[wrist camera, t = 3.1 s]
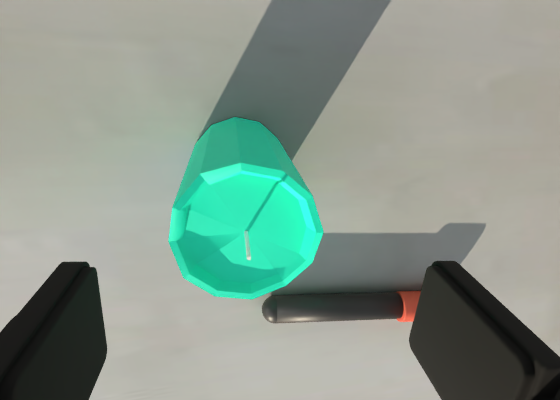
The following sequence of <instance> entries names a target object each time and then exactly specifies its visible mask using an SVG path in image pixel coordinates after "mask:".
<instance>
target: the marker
mask: <svg viewBox="0 0 560 400" xmlns="http://www.w3.org/2000/svg"><path fill="white" fill-rule="evenodd" d="M420 293H421V291H398V292H390V293H351V294H313V295H275V296H271V297H269V298H267V299H266V300H265V302H264V303H263V306H262V313H263V315H264V317H265V319H266V320H267V321H269V322H271V323H295V322H321V321H348V320H374V319H397V320H398V321H400V322H409V321H414V317H415V313H416V309H417V305H418V301H419V297H420Z"/></svg>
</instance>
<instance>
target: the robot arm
mask: <svg viewBox="0 0 560 400" xmlns="http://www.w3.org/2000/svg"><path fill="white" fill-rule="evenodd" d="M409 343H410V347H411V349H412V351H413V353H414V355H415V356H416V358H417V360H418V361H419V363H420V365H421V366H422V368H423V370H424V371H425V373H426V375H427V376H428V378H429V380H430V381H431V383H432V384H433V386H434V388H435V389H436V391H437V393H438V394H439V396H440V398H441V399H442V400H560V357H559V356H558V355H557V354H556V353H555V352H554V351H553V350H551V349H550V348H549V347H548V346H547V345H546V344H545V343H544V342H543V341H542V340H541V339H540V338H538V337H537V336H536V335H535V334H534V333H533V332H532V331H531V330H530V329H529V328H528V327H527V326H525V325H524V324H523V323H522V322H521V321H520V320H519V319H518V318H517V317H516V316H515V315H514V314H512V313H511V312H510V311H509V310H508V309H507V308H506V307H505V306H504V305H503V304H502V303H501V302H499V301H498V300H497V299H496V298H495V297H494V296H493V295H492V294H491V293H490V292H489V291H488V290H486V289H485V288H484V287H483V286H482V285H481V284H480V283H479V282H478V281H477V280H476V279H475V278H474V277H472V276H471V275H470V274H469V273H468V272H467V271H466V270H465V269H464V268H463V267H462V266H461V265H459V264H458V263H457V262H455V261H435V262H433V264H432V265H431V266H429V267H428V268H427V270H426V273H425V277H424V281H423V285H422V289H421V293H420V297H419V301H418V305H417V309H416V313H415V317H414V321H413V325H412V329H411V333H410V337H409ZM106 354H107V343H106V336H105V329H104V321H103V314H102V307H101V299H100V292H99V285H98V277H97V271H96V269H95V268H94V267H90V266H89V264H88V263H87V262H62V263H61V264H60V265H59V266H58V267H57V268H56V269H55V271H54V272H53V273H52V274H51V275H50V276H49V278H48V279H47V280H46V281H45V282H44V284H43V285H42V286H41V287H40V288H39V290H38V291H37V292H36V293H35V294H34V296H33V297H32V298H31V299H30V300H29V301H28V303H27V304H26V305H25V306H24V307H23V309H22V310H21V311H20V312H19V313H18V315H16V316H15V317H14V318H13V319H12V320H10V322H9V323H8V324H7V325H6V326H5V327H4V329H3V330H2V331H1V332H0V400H89V397H90V395H91V393H92V390H93V388H94V386H95V383H96V381H97V379H98V376H99V374H100V372H101V369H102V367H103V364H104V362H105V359H106Z"/></svg>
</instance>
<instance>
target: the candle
mask: <svg viewBox="0 0 560 400" xmlns="http://www.w3.org/2000/svg"><path fill="white" fill-rule="evenodd" d="M323 233H324V232H323V228H322V225H321V222H320V218H319V215H318V212H317V209H316V205H315V202H314V199H313V196H312V194H311V192H310V191H309V189H308V188H307V186H306V184H305V183H304V181H303V179H302V178H301V176H300V174H299V173H298V171H297V169H296V168H295V166H294V165H293V163H292V161H291V160H290V158H289V156H288V155H287V153H286V151H285V150H284V148H283V146H282V145H281V143H280V142H279V140H278V138H277V137H276V136H275V135H273V134H272V133H271V132H270V131H269V130H268V129H267V128H266V127H265V126H263V125H262V124H261V123H260V122H257V121H253V120H248V119H243V118H238V117H233V118H230V119H227V120H224V121H221V122H218V123H215V124H212V125H211V126H210V127H209V128H208V129H207V131H206V132H205V133H204V134H203V135H202V137H201V138H200V139H199V140H198V141H197V142H196V144H195V147H194V149H193V152H192V155H191V158H190V160H189V163H188V166H187V169H186V171H185V174H184V177H183V180H182V182H181V185H180V188H179V191H178V193H177V196H176V199H175V202H174V204H173V207H172V215H171V224H170V232H169V241H168V242H169V244H170V247H171V249H172V251H173V254H174V256H175V259H176V261H177V263H178V266H179V268H180V271H181V273H182V276H183V278H184V279H186V280H188V281H189V282H191V283H193V284H195V285H196V286H198V287H200V288H201V289H203V290H205V291H207V292H208V293H210V294H212V295H213V296H217V297H229V298H240V299H254V298H257V297H259V296H262V295H264V294H267V293H269V292H272V291H274V290H277V289H279V288H282V287H284V286H286V285H288V284H289V283H290V282H291V281H292V280H293V279H294V278H296V277H297V276H298V275H299V274H300V273H301V272H302V271H304V270H305V269H306V268H307V267H308V266H309V265H310V264H311V263H312V262H313V260H314V257H315V254H316V252H317V249H318V246H319V244H320V241H321V238H322V235H323Z"/></svg>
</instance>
